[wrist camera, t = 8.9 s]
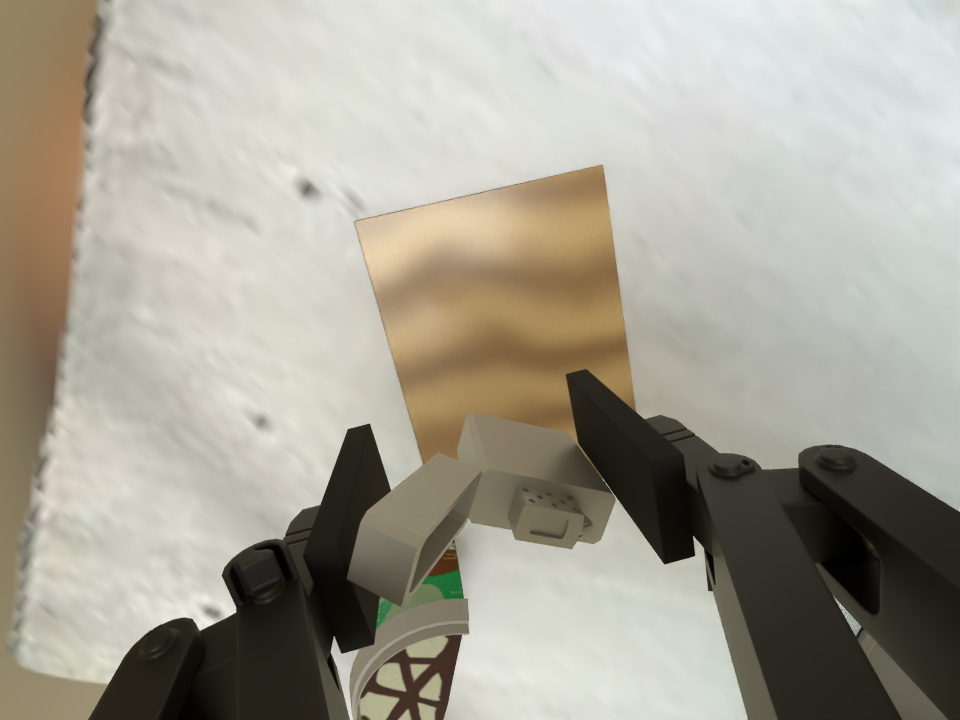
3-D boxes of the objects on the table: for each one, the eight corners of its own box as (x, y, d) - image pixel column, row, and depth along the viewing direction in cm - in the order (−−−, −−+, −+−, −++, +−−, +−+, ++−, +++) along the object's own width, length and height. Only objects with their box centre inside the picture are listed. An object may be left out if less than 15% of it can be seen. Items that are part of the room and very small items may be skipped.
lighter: (573, 434, 18) (684, 585, 11) (559, 474, 19) (656, 648, 11) (386, 393, 17) (358, 531, 9) (375, 437, 17) (341, 605, 10)
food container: (375, 512, 36) (359, 618, 26) (457, 520, 37) (471, 625, 27) (354, 646, 39) (332, 785, 29) (430, 651, 40) (433, 787, 30)
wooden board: (641, 465, 37) (643, 467, 37) (439, 518, 36) (439, 520, 36) (601, 165, 31) (603, 164, 31) (354, 221, 30) (353, 221, 30)
